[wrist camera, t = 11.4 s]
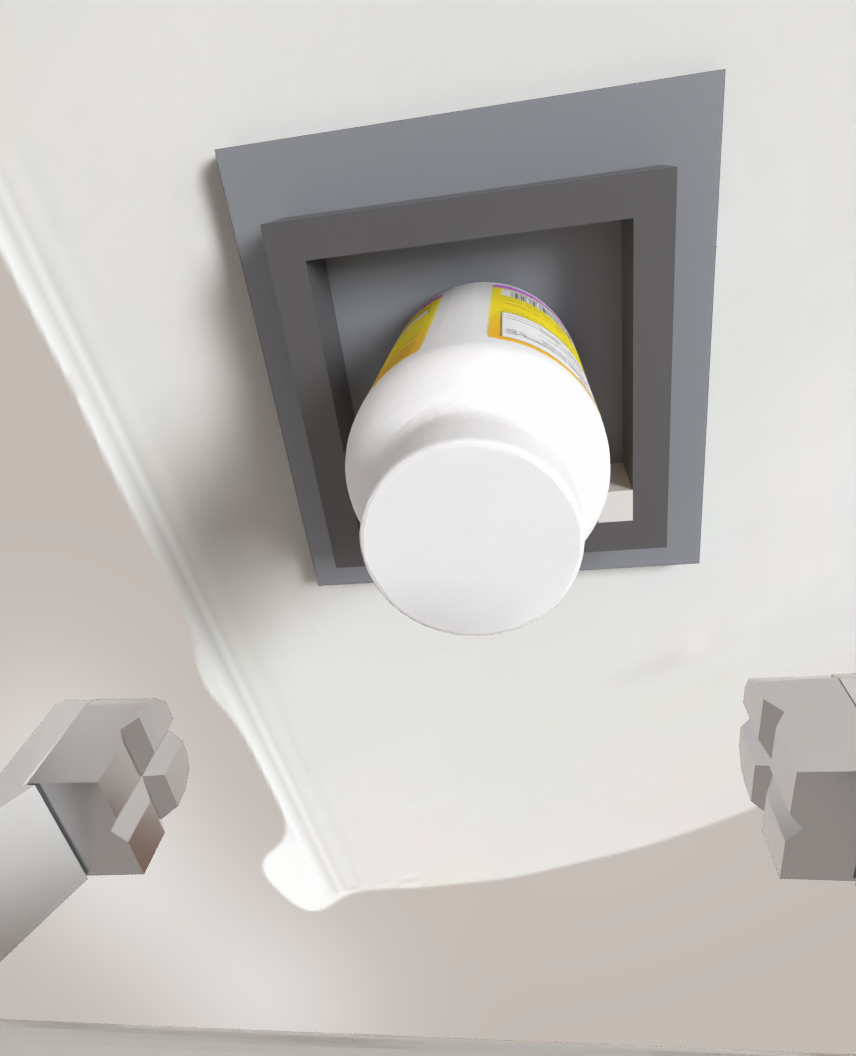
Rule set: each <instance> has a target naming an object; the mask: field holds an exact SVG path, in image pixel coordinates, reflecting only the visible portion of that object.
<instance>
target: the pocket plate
mask: <svg viewBox="0 0 856 1056" xmlns="http://www.w3.org/2000/svg"><path fill="white" fill-rule="evenodd" d="M724 88H725V69H722V70H716V71H709V72H703V73H697V74H690V75H684V76H678V77H671V78H665V79H659V80H652V81H646V82H640V83H633V84H627V85H621V86H614V87H608V88H602V89H595V90H589V91H583V92H576V93H570V94H564V95H557V96H551V97H545V98H538V99H532V100H526V101H519V102H513V103H507V104H500V105H494V106H488V107H482V108H475V109H469V110H463V111H456V112H450V113H444V114H437V115H431V116H425V117H418V118H412V119H406V120H399V121H393V122H387V123H380V124H374V125H368V126H361V127H355V128H349V129H342V130H336V131H330V132H323V133H317V134H311V135H304V136H298V137H292V138H285V139H279V140H273V141H266V142H260V143H254V144H248V145H241V146H235V147H229V148H222V149H216V150H215V154H216V158H217V162H218V166H219V171H220V175H221V179H222V183H223V187H224V192H225V196H226V200H227V204H228V208H229V212H230V217H231V221H232V225H233V229H234V233H235V238H236V242H237V246H238V250H239V254H240V259H241V263H242V267H243V271H244V275H245V279H246V284H247V288H248V292H249V296H250V300H251V305H252V309H253V313H254V317H255V321H256V326H257V330H258V334H259V338H260V342H261V346H262V351H263V355H264V359H265V363H266V367H267V372H268V376H269V380H270V384H271V388H272V393H273V397H274V401H275V405H276V409H277V413H278V418H279V422H280V426H281V430H282V434H283V439H284V443H285V447H286V451H287V455H288V460H289V464H290V468H291V472H292V476H293V480H294V485H295V489H296V493H297V497H298V501H299V506H300V510H301V514H302V518H303V522H304V527H305V531H306V535H307V539H308V543H309V547H310V552H311V556H312V560H313V564H314V568H315V573H316V577H317V581H318V585H319V586H323V585H340V584H357V583H374V582H373V580H372V578H371V577H370V575H369V573H368V570H367V568H366V566H365V563H364V560H363V557H362V553H361V547H360V536H359V531H360V522H359V520H358V518H357V516H356V513H355V511H354V509H353V506H352V503H351V500H350V496H349V492H348V489H347V483H346V474H345V459H346V448H347V442H348V438H349V434H350V431H351V428H352V424H353V422H354V420H355V417H356V415H357V413H358V411H359V409H360V407H361V405H362V403H363V401H364V400H365V398H366V396H367V395H368V393H369V391H370V389H371V387H372V386H373V384H374V382H375V380H376V378H377V377H378V375H379V373H380V371H381V369H382V367H383V365H384V363H385V362H386V360H387V358H388V356H389V354H390V352H391V350H392V349H393V347H394V345H395V343H396V341H397V339H398V337H399V336H400V334H401V332H402V331H403V329H404V327H405V326H406V324H407V323H408V322H409V320H410V319H411V318H412V317H413V315H414V314H415V313H416V312H417V311H418V310H419V309H420V308H421V307H422V306H423V305H424V304H425V303H427V302H428V301H429V300H431V299H432V298H434V297H435V296H437V295H438V294H440V293H442V292H444V291H446V290H449V289H451V288H453V287H457V286H460V285H464V284H468V283H475V282H495V283H501V284H507V285H511V286H514V287H517V288H519V289H522V290H524V291H526V292H528V293H530V294H532V295H534V296H535V297H537V298H538V299H540V300H541V301H542V302H543V303H545V304H546V305H547V306H548V307H549V308H550V309H551V310H552V311H553V312H554V313H555V314H556V315H557V317H558V318H559V319H560V320H561V322H562V323H563V325H564V326H565V328H566V330H567V331H568V333H569V335H570V337H571V339H572V341H573V343H574V346H575V348H576V351H577V353H578V356H579V359H580V362H581V364H582V367H583V370H584V372H585V375H586V378H587V381H588V384H589V386H590V389H591V392H592V395H593V397H594V400H595V403H596V405H597V408H598V410H599V412H600V415H601V418H602V422H603V425H604V428H605V432H606V436H607V440H608V445H609V452H610V483H609V489H608V494H607V498H606V501H605V505H604V508H603V510H602V512H601V515H600V517H599V519H598V521H597V523H596V525H595V527H594V528H593V530H592V532H591V533H590V535H589V536H588V538H587V539H586V540H585V544H584V553H583V558H582V561H581V565H580V569H579V570H594V569H611V568H628V567H644V566H661V565H678V564H695V563H699V558H700V539H701V521H702V502H703V483H704V464H705V445H706V426H707V408H708V389H709V370H710V351H711V332H712V313H713V295H714V276H715V257H716V238H717V219H718V201H719V182H720V163H721V144H722V125H723V106H724Z"/></svg>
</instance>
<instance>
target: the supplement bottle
mask: <svg viewBox="0 0 856 1056" xmlns="http://www.w3.org/2000/svg"><path fill="white" fill-rule="evenodd" d="M345 474H346V483H347V489H348V492H349V496H350V500H351V503H352V506H353V509H354V511H355V513H356V516H357V518H358V520H359V522H360V531H359V536H360V547H361V553H362V557H363V560H364V563H365V566H366V568H367V570H368V573H369V575H370V577H371V578H372V580H373V582H374V583H375V585H376V586H377V588H378V590H379V591H380V592H381V593H382V594H383V596H384V597H385V598H386V599H387V600H388V601H389V602H390V603H391V604H392V605H393V606H394V607H396V608H397V609H398V610H399V611H400V612H402V613H403V614H405V615H406V616H408V617H409V618H411V619H413V620H414V621H416V622H418V623H420V624H423V625H425V626H427V627H430V628H433V629H436V630H439V631H443V632H447V633H452V634H458V635H475V636H480V635H493V634H498V633H503V632H507V631H511V630H514V629H517V628H519V627H522V626H524V625H526V624H528V623H530V622H532V621H534V620H536V619H538V618H539V617H541V616H542V615H544V614H545V613H547V612H548V611H549V610H550V609H551V608H553V607H554V606H555V605H556V604H557V603H558V602H559V601H560V600H561V599H562V598H563V596H564V595H565V594H566V593H567V591H568V590H569V588H570V587H571V585H572V583H573V582H574V580H575V578H576V575H577V573H578V571H579V569H580V565H581V561H582V558H583V553H584V544H585V540H586V539H587V538H588V536H589V535H590V533H591V532H592V530H593V528H594V527H595V525H596V523H597V521H598V519H599V517H600V515H601V512H602V510H603V508H604V505H605V501H606V498H607V494H608V489H609V483H610V452H609V445H608V440H607V436H606V432H605V428H604V425H603V422H602V418H601V415H600V412H599V410H598V408H597V405H596V403H595V400H594V397H593V395H592V392H591V389H590V386H589V384H588V381H587V378H586V375H585V372H584V370H583V367H582V364H581V362H580V359H579V356H578V353H577V351H576V348H575V346H574V343H573V341H572V339H571V337H570V335H569V333H568V331H567V330H566V328H565V326H564V325H563V323H562V322H561V320H560V319H559V318H558V317H557V315H556V314H555V313H554V312H553V311H552V310H551V309H550V308H549V307H548V306H547V305H546V304H545V303H543V302H542V301H541V300H540V299H538V298H537V297H535V296H534V295H532V294H530V293H528V292H526V291H524V290H522V289H519V288H517V287H514V286H511V285H507V284H501V283H495V282H475V283H468V284H464V285H460V286H457V287H453V288H451V289H449V290H446V291H444V292H442V293H440V294H438V295H437V296H435V297H434V298H432V299H431V300H429V301H428V302H427V303H425V304H424V305H423V306H422V307H421V308H420V309H419V310H418V311H417V312H416V313H415V314H414V315H413V317H412V318H411V319H410V320H409V322H408V323H407V324H406V326H405V327H404V329H403V331H402V332H401V334H400V336H399V337H398V339H397V341H396V343H395V345H394V347H393V349H392V350H391V352H390V354H389V356H388V358H387V360H386V362H385V363H384V365H383V367H382V369H381V371H380V373H379V375H378V377H377V378H376V380H375V382H374V384H373V386H372V387H371V389H370V391H369V393H368V395H367V396H366V398H365V400H364V401H363V403H362V405H361V407H360V409H359V411H358V413H357V415H356V417H355V420H354V422H353V424H352V428H351V431H350V434H349V438H348V442H347V448H346V459H345Z"/></svg>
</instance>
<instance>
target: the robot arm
mask: <svg viewBox="0 0 856 1056" xmlns="http://www.w3.org/2000/svg"><path fill="white" fill-rule="evenodd" d="M743 703H744V705H745V708H746V710H747V713H748V715H749V718H750V719H749V720H748V721H747V722H746V723H745V724H744V725H743V726H742V727H741V728H740V743H739V750H740V761H741V769H742V773H743V777H744V782H745V785H746V788H747V791H748V794H749V797H750V800H751V801H752V802H753V803H754V804H756V805H757V806H758V807H759V808H761V809H762V810H763V811H764V817H763V826H762V833H763V835H764V838H765V841H766V843H767V846H768V849H769V851H770V854H771V857H772V859H773V862H774V865H775V867H776V870H777V873H778V875H779V878H780V879H809V880H839V881H856V673H855V674H836V675H831V676H803V677H778V678H754V679H748V681H747V684H746V686H745V691H744V700H743ZM172 720H173V717H172V714H171V712H170V710H169V708H168V706H167V704H166V702H165V701H162V700H159V699H96V700H65V701H63V702H61V703H59V704H57V705H55V706H54V707H53V709H52V710H51V711H50V712H49V714H48V715H47V716H46V717H45V719H44V720H43V721H42V722H41V723H40V725H39V726H38V727H37V728H36V730H35V731H34V732H33V733H32V735H31V736H30V737H29V738H28V740H27V741H26V742H25V743H24V745H23V746H22V747H21V748H20V750H19V751H18V752H17V753H16V755H15V756H14V757H13V758H12V760H11V761H10V762H9V763H8V765H7V766H6V767H5V768H4V770H3V771H2V772H1V773H0V961H1V960H2V959H4V958H5V957H6V956H7V955H8V954H9V953H10V952H11V951H12V950H13V949H14V948H15V947H16V946H17V945H18V944H19V943H20V942H22V941H23V940H24V939H25V938H26V937H27V936H28V935H29V934H30V933H31V932H32V931H33V930H34V929H35V928H36V927H37V926H38V925H39V924H41V922H43V921H44V920H45V919H46V918H47V917H48V916H49V915H50V914H51V913H52V912H53V911H54V910H55V909H56V908H57V907H58V906H60V905H61V904H62V903H63V902H64V901H65V900H66V899H67V898H68V897H69V896H70V895H71V894H72V893H73V892H74V891H75V890H76V889H78V888H79V886H81V885H82V884H83V883H84V882H85V881H86V880H87V875H124V874H125V875H129V874H144V873H145V871H146V869H147V867H148V865H149V863H150V861H151V859H152V857H153V855H154V853H155V851H156V849H157V847H158V845H159V843H160V841H161V839H162V837H163V835H164V833H165V831H164V828H163V824H162V820H161V819H162V818H163V817H165V816H166V815H167V814H168V813H170V812H171V811H172V810H173V809H174V808H176V807H177V806H178V805H179V802H180V800H181V798H182V796H183V794H184V791H185V789H186V784H187V779H188V772H189V763H188V755H187V751H186V749H185V746H184V743H183V741H182V740H180V738H178V737H177V736H176V735H174V734H173V733H172V732H170V731H169V730H168V729H169V727H170V725H171V723H172ZM0 1056H856V1055H850V1054H825V1053H802V1052H778V1051H777V1052H776V1051H754V1050H730V1049H729V1050H728V1049H705V1048H682V1047H658V1046H633V1045H608V1044H584V1043H561V1042H536V1041H512V1040H489V1039H465V1038H440V1037H417V1036H392V1035H367V1034H343V1033H342V1034H341V1033H318V1032H317V1033H315V1032H292V1031H269V1030H243V1029H218V1028H195V1027H171V1026H147V1025H123V1024H98V1023H75V1022H51V1021H28V1020H4V1019H0Z"/></svg>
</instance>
